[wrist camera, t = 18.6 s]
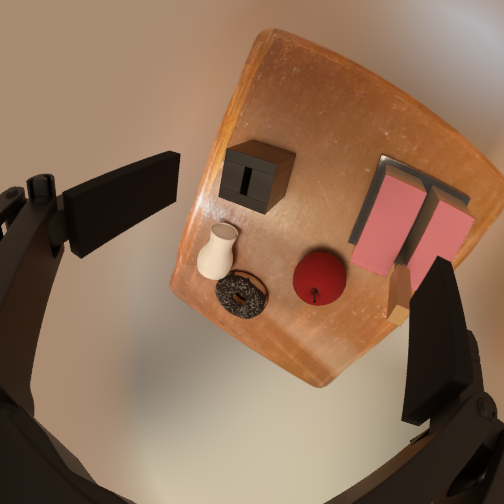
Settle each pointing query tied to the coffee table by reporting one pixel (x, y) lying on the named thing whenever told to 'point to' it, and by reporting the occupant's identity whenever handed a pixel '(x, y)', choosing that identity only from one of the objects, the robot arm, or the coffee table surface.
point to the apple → (319, 279)
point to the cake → (408, 221)
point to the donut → (245, 287)
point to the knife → (399, 290)
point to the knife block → (256, 175)
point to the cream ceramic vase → (217, 252)
